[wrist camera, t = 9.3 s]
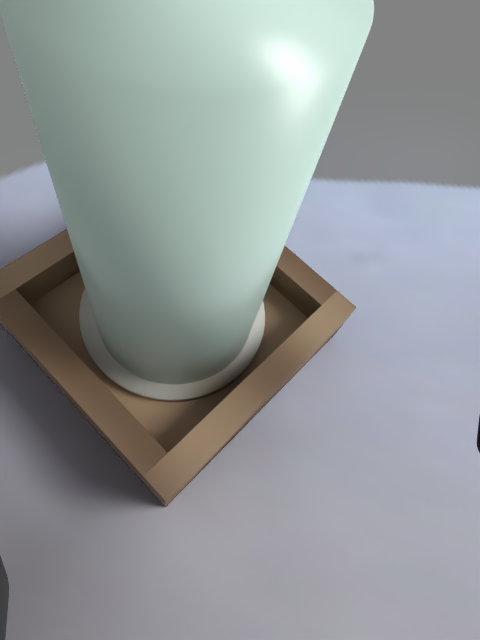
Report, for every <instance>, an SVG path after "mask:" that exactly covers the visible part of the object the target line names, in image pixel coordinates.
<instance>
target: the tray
mask: <svg viewBox="0 0 480 640" xmlns="http://www.w3.org/2000/svg"><path fill="white" fill-rule="evenodd" d="M355 308H356V307H355V306H354V305H353V304H352V303H351V302H350V301H349V300H347V299H346V298H345V297H344V296H343V295H342V294H340V293H339V292H338V291H337V290H336V289H335V288H333V287H332V286H331V285H330V284H329V283H328V282H326V281H325V280H324V279H323V278H322V277H321V276H319V275H318V274H317V273H316V272H315V271H314V270H312V269H311V268H310V267H309V266H308V265H307V264H305V263H304V262H303V261H302V260H301V259H300V258H299V257H297V256H296V255H295V254H294V253H293V252H292V251H290V250H289V249H288V248H287V247H286V246H284V248H283V251H282V253H281V256H280V258H279V261H278V263H277V266H276V268H275V271H274V273H273V276H272V278H271V281H270V283H269V286H268V288H267V291H266V293H265V296H264V298H263V301H262V303H261V306H260V309H259V311H258V314H257V316H256V319H255V321H254V324H253V326H252V329H251V331H250V334H249V336H248V339H247V341H246V343H245V345H244V347H243V349H242V351H241V352H240V353H239V355H238V356H237V357H236V359H235V360H234V361H233V362H232V363H231V364H230V365H228V366H227V367H226V368H225V369H223V370H222V371H220V372H219V373H217V374H215V375H213V376H211V377H209V378H207V379H204V380H201V381H197V382H194V383H188V384H162V383H157V382H152V381H149V380H146V379H143V378H141V377H138V376H137V375H135V374H133V373H131V372H129V371H128V370H127V369H125V368H124V367H122V366H121V365H120V364H119V363H118V362H117V361H116V360H115V359H114V358H113V357H112V356H111V354H110V353H109V352H108V350H107V349H106V347H105V345H104V343H103V341H102V339H101V336H100V334H99V331H98V327H97V324H96V321H95V318H94V314H93V311H92V308H91V305H90V302H89V298H88V295H87V292H86V289H85V285H84V282H83V279H82V276H81V273H80V269H79V266H78V263H77V260H76V256H75V253H74V250H73V247H72V244H71V240H70V237H69V234H68V231H67V229H66V230H64V231H63V232H61V233H59V234H58V235H56V236H54V237H53V238H51V239H50V240H48V241H46V242H45V243H43V244H41V245H40V246H38V247H37V248H35V249H33V250H32V251H30V252H28V253H27V254H25V255H23V256H22V257H20V258H19V259H17V260H15V261H14V262H12V263H10V264H9V265H7V266H6V267H4V268H2V269H1V270H0V323H1V324H2V325H3V327H4V328H5V329H6V330H7V331H8V332H9V333H10V334H11V335H12V337H13V338H14V339H15V340H16V341H17V342H18V343H19V344H20V346H21V347H22V348H23V349H24V350H25V351H26V352H27V353H28V354H29V356H30V357H31V358H32V359H33V360H34V361H35V362H36V363H37V365H38V366H39V367H40V368H41V369H42V370H43V371H44V372H45V373H46V375H47V376H48V377H49V378H50V379H51V380H52V381H53V382H54V383H55V385H56V386H57V387H58V388H59V389H60V390H61V391H62V392H63V394H64V395H65V396H66V397H67V398H68V399H69V400H70V401H71V402H72V404H73V405H74V406H75V407H76V408H77V409H78V410H79V411H80V412H81V414H82V415H83V416H84V417H85V418H86V419H87V420H88V421H89V423H90V424H91V425H92V426H93V427H94V428H95V429H96V430H97V431H98V433H99V434H100V435H101V436H102V437H103V438H104V439H105V440H106V441H107V443H108V444H109V445H110V446H111V447H112V448H113V449H114V450H115V452H116V453H117V454H118V455H119V456H120V457H121V458H122V459H123V460H124V462H125V463H126V464H127V465H128V466H129V467H130V468H131V469H132V471H133V472H134V473H135V474H136V475H137V476H138V477H139V478H140V479H141V481H142V482H143V483H144V484H145V485H146V486H147V487H148V488H149V489H150V491H151V492H152V493H153V494H154V495H155V496H156V497H157V498H158V500H159V501H160V502H161V503H162V504H163V505H164V506H165V507H166V506H167V505H168V504H169V503H170V502H171V501H172V500H173V499H174V498H175V497H176V496H177V495H178V494H179V493H180V492H181V491H182V490H183V489H184V488H185V487H186V486H187V485H188V484H189V483H190V482H191V481H192V480H193V479H194V478H195V477H196V476H197V475H198V474H199V472H200V471H201V470H202V469H203V468H204V467H205V466H206V465H207V464H208V463H209V462H210V461H211V460H212V459H213V458H214V457H215V456H216V455H217V454H218V453H219V452H220V451H221V450H222V449H223V448H224V447H225V446H226V445H227V444H228V443H229V442H230V441H231V440H232V439H233V438H234V437H235V436H236V435H237V434H238V433H239V432H240V431H241V430H242V429H243V428H244V427H245V426H246V424H247V423H248V422H249V421H250V420H251V419H252V418H253V417H254V416H255V415H256V414H257V413H258V412H259V411H260V410H261V409H262V408H263V407H264V406H265V405H266V404H267V403H268V402H269V401H270V400H271V399H272V398H273V397H274V396H275V395H276V394H277V393H278V392H279V391H280V390H281V389H282V388H283V387H284V386H285V385H286V384H287V383H288V382H289V381H290V380H291V379H292V378H293V376H294V375H295V374H296V373H297V372H298V371H299V370H300V369H301V368H302V367H303V366H304V365H305V364H306V363H307V362H308V361H309V360H310V359H311V358H312V357H313V356H314V355H315V354H316V353H317V352H318V351H319V350H320V349H321V348H322V347H323V346H324V345H325V344H326V343H327V342H328V341H329V340H330V339H331V338H332V337H333V336H334V335H335V333H336V332H337V331H338V330H339V328H340V327H341V326H342V325H343V323H344V322H345V321H346V320H347V318H348V317H349V316H350V315H351V313H352V312H353V311H354V310H355Z"/></svg>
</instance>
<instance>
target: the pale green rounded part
mask: <svg viewBox="0 0 480 640" xmlns="http://www.w3.org/2000/svg"><path fill="white" fill-rule="evenodd" d="M373 14H374V3H373V0H0V15H1V18H2V21H3V24H4V27H5V31H6V34H7V37H8V40H9V43H10V47H11V50H12V53H13V56H14V60H15V63H16V66H17V69H18V73H19V76H20V79H21V82H22V86H23V89H24V92H25V95H26V98H27V102H28V105H29V108H30V111H31V115H32V118H33V121H34V124H35V127H36V131H37V133H38V137H39V140H40V144H41V147H42V150H43V153H44V156H45V160H46V163H47V166H48V169H49V173H50V176H51V179H52V182H53V186H54V189H55V192H56V195H57V198H58V202H59V205H60V208H61V211H62V215H63V218H64V221H65V224H66V227H67V231H68V234H69V237H70V240H71V244H72V247H73V250H74V253H75V256H76V260H77V263H78V266H79V269H80V273H81V276H82V279H83V282H84V285H85V289H86V292H87V295H88V298H89V302H90V305H91V308H92V311H93V314H94V318H95V321H96V324H97V327H98V331H99V334H100V336H101V339H102V341H103V343H104V345H105V347H106V349H107V350H108V352H109V353H110V354H111V356H112V357H113V358H114V359H115V360H116V361H117V362H118V363H119V364H120V365H121V366H122V367H124V368H125V369H127V370H128V371H129V372H131V373H133V374H135V375H137V376H138V377H141V378H143V379H146V380H149V381H152V382H157V383H162V384H188V383H194V382H197V381H201V380H204V379H207V378H209V377H211V376H213V375H215V374H217V373H219V372H220V371H222V370H223V369H225V368H226V367H227V366H228V365H230V364H231V363H232V362H233V361H234V360H235V359H236V357H237V356H238V355H239V353H240V352H241V351H242V349H243V347H244V345H245V343H246V341H247V339H248V336H249V334H250V331H251V329H252V326H253V324H254V321H255V319H256V316H257V314H258V311H259V309H260V306H261V303H262V301H263V298H264V296H265V293H266V291H267V288H268V286H269V283H270V281H271V278H272V276H273V273H274V271H275V268H276V266H277V263H278V261H279V258H280V256H281V253H282V251H283V248H284V246H285V243H286V240H287V238H288V235H289V233H290V230H291V228H292V225H293V223H294V220H295V218H296V215H297V213H298V210H299V208H300V205H301V203H302V200H303V198H304V195H305V193H306V190H307V188H308V185H309V182H310V180H311V177H312V175H313V172H314V170H315V167H316V165H317V162H318V160H319V157H320V154H321V152H322V150H323V147H324V145H325V142H326V140H327V137H328V135H329V132H330V129H331V127H332V124H333V122H334V119H335V117H336V114H337V112H338V109H339V107H340V104H341V102H342V99H343V97H344V94H345V92H346V89H347V86H348V84H349V82H350V79H351V77H352V74H353V72H354V69H355V66H356V64H357V61H358V59H359V56H360V54H361V51H362V49H363V46H364V44H365V41H366V39H367V36H368V34H369V31H370V28H371V25H372V22H373Z"/></svg>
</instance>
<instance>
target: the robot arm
mask: <svg viewBox="0 0 480 640" xmlns="http://www.w3.org/2000/svg"><path fill="white" fill-rule="evenodd" d="M477 447H478V450H479V452H480V416H479V425H478V435H477ZM8 598H9V584H8V577H7V574H6V571H5V568H4V565H3V562H2V559H1V556H0V640H5V635H6V623H7V610H8Z"/></svg>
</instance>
